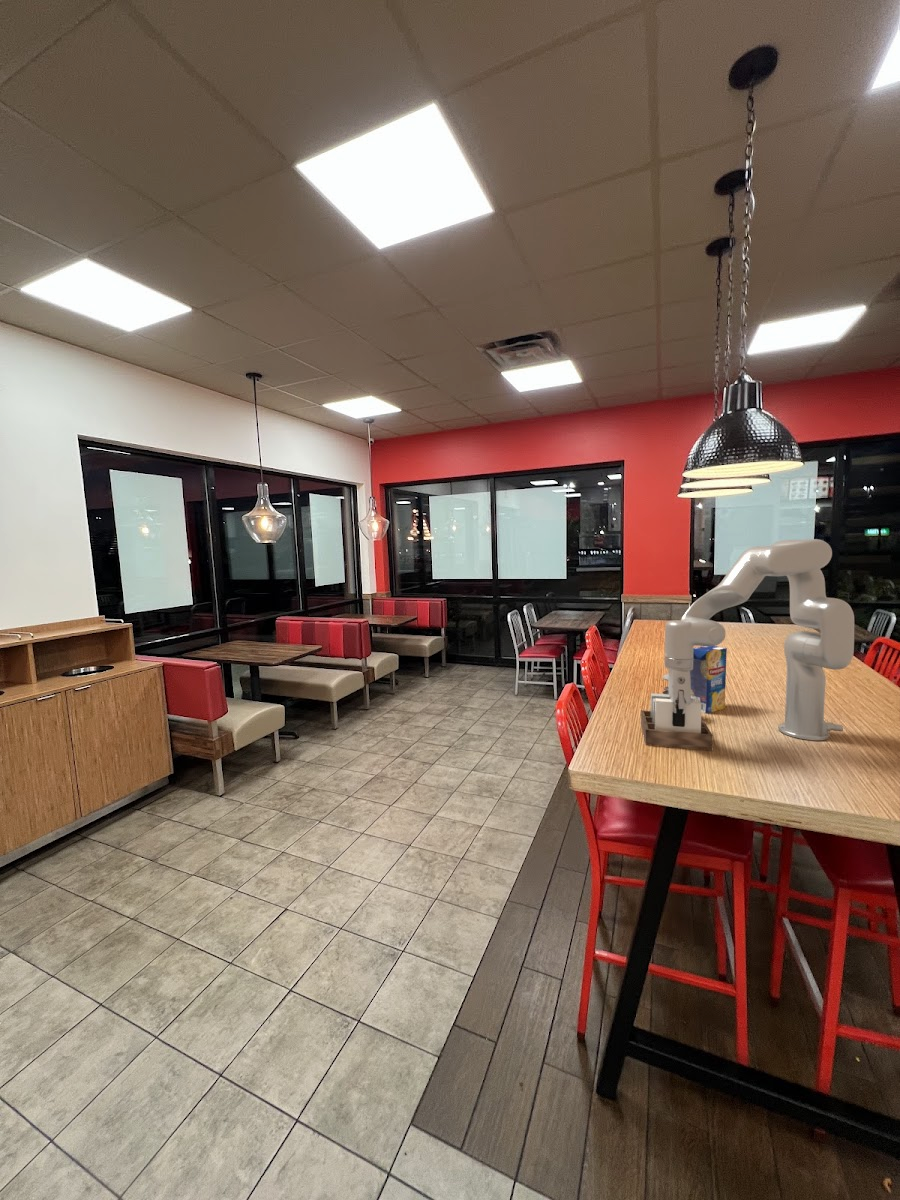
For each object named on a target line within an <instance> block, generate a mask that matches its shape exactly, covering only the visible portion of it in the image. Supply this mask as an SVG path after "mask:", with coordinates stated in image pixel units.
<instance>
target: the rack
mask: <svg viewBox="0 0 900 1200" xmlns="http://www.w3.org/2000/svg"><path fill="white" fill-rule="evenodd" d="M640 725H641V732H642V735H644V736H643V739H644V743H645V745H646V746H655V745H659V746H658V747H666V746H667V747H668V748H678V749H679V748H680V749H688V750H689V749H690V750H699V751H710V752H711V751H712V752H713V744H714V743H713V741H714V740H713V737H714V735H713V733H712V732H711V730H710V729H709V726H708V725H707V724H706V722H705V720H704V719H703V717H702V716H701V733H689V732H677V731H665V730H655V723H652V717H651V710H640ZM667 747H666V748H667Z"/></svg>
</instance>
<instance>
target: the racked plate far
mask: <svg viewBox="0 0 900 1200" xmlns="http://www.w3.org/2000/svg"><path fill="white" fill-rule="evenodd" d="M655 698H659V699H670V697H669V694H663V693H650V711H651V717H652V715H653V699H655ZM693 699H694V698H693V697H692V696H691V700H692V701H693Z"/></svg>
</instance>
